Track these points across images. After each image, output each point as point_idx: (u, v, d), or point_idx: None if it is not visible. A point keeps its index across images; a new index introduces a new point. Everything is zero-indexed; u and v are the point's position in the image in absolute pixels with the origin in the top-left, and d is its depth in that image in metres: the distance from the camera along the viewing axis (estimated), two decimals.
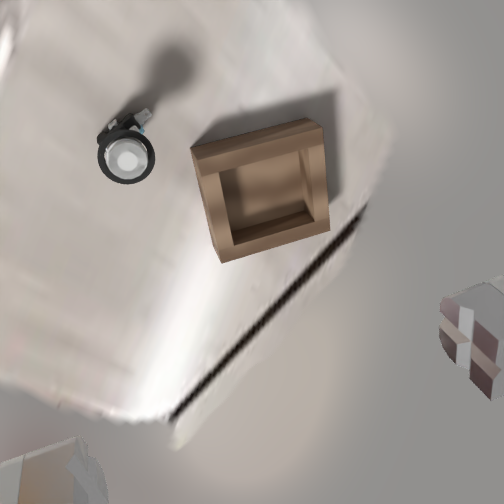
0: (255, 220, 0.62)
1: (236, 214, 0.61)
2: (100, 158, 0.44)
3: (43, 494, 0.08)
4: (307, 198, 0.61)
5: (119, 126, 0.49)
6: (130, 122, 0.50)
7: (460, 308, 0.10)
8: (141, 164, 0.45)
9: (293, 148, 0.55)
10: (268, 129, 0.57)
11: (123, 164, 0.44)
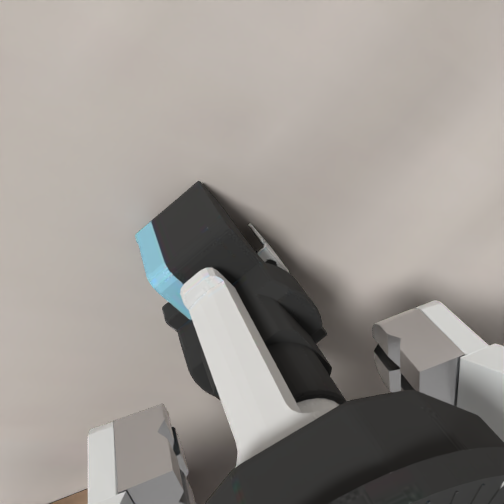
0: None
1: None
2: (446, 502, 0.05)
3: (140, 456, 0.08)
4: None
5: (318, 320, 0.11)
6: None
7: (388, 336, 0.10)
8: None
9: None
10: None
11: None
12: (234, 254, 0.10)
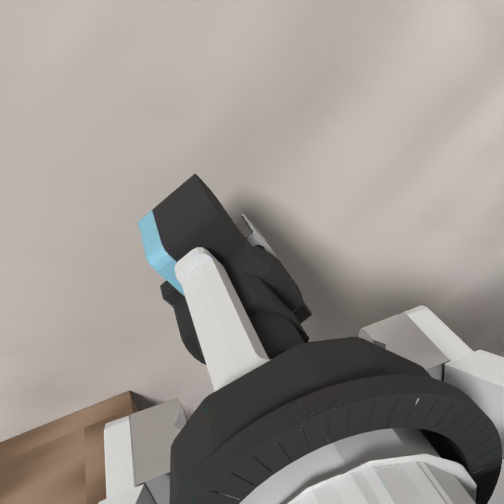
0: None
1: None
2: (368, 412, 0.06)
3: (157, 449, 0.08)
4: None
5: (299, 297, 0.12)
6: (294, 317, 0.13)
7: (373, 341, 0.09)
8: None
9: None
10: None
11: None
12: (223, 236, 0.11)
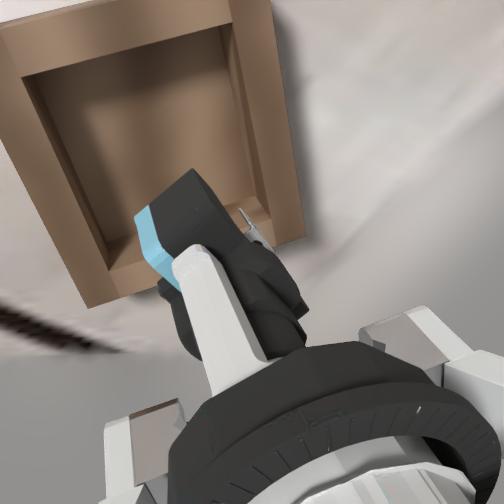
0: (73, 136, 0.26)
1: (86, 86, 0.25)
2: (369, 421, 0.06)
3: (157, 449, 0.08)
4: None
5: (298, 294, 0.12)
6: None
7: (373, 341, 0.09)
8: None
9: (272, 190, 0.28)
10: None
11: None
12: (221, 233, 0.11)
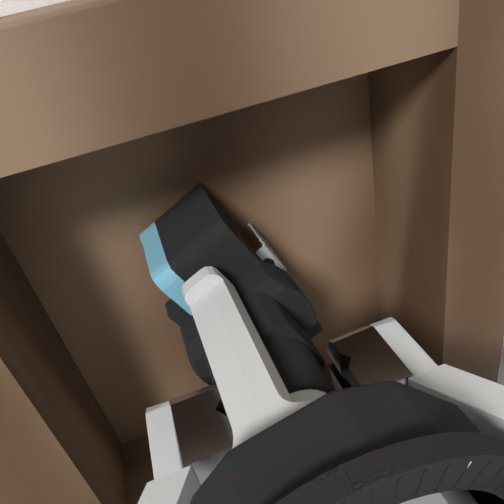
0: (56, 280, 0.13)
1: (85, 183, 0.12)
2: (417, 480, 0.05)
3: (201, 432, 0.08)
4: None
5: None
6: None
7: (339, 354, 0.09)
8: None
9: None
10: None
11: None
12: (233, 253, 0.11)
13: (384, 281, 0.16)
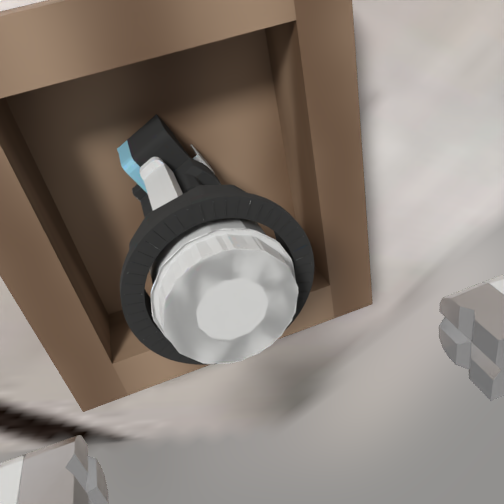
0: (62, 180, 0.19)
1: (81, 112, 0.18)
2: (223, 206, 0.12)
3: (43, 494, 0.08)
4: None
5: None
6: None
7: (460, 308, 0.10)
8: (220, 350, 0.12)
9: (335, 249, 0.20)
10: None
11: (222, 298, 0.12)
12: (173, 151, 0.17)
13: (294, 195, 0.22)
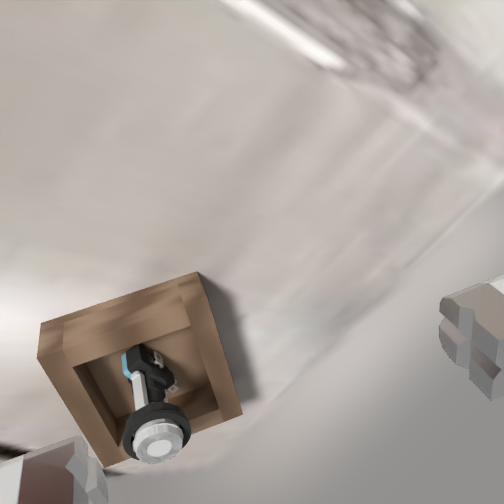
0: (97, 369, 0.43)
1: None
2: (156, 416, 0.36)
3: (43, 494, 0.08)
4: None
5: (166, 381, 0.42)
6: (168, 384, 0.43)
7: (460, 308, 0.10)
8: (156, 459, 0.37)
9: (219, 395, 0.45)
10: None
11: (155, 445, 0.36)
12: (144, 366, 0.41)
13: None
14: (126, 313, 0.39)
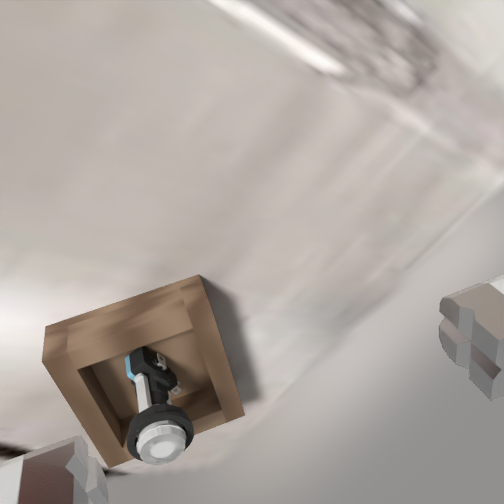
0: (101, 371, 0.44)
1: None
2: (159, 418, 0.37)
3: (43, 494, 0.08)
4: None
5: (169, 383, 0.43)
6: (171, 386, 0.44)
7: (460, 308, 0.10)
8: (159, 460, 0.38)
9: (222, 396, 0.45)
10: None
11: (158, 447, 0.37)
12: (147, 368, 0.42)
13: None
14: (129, 316, 0.40)
